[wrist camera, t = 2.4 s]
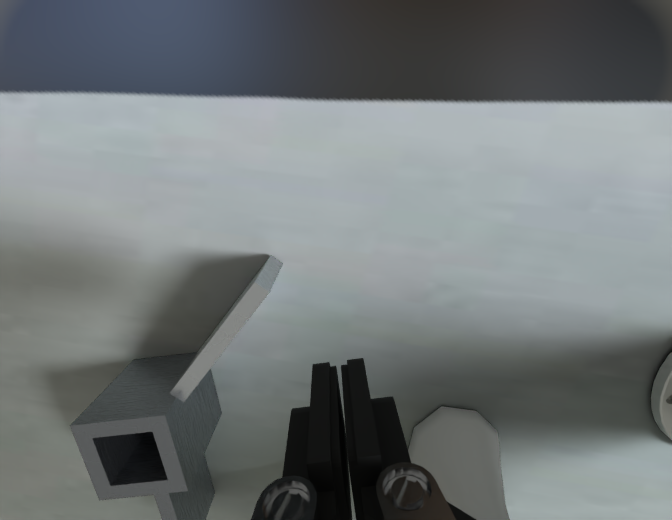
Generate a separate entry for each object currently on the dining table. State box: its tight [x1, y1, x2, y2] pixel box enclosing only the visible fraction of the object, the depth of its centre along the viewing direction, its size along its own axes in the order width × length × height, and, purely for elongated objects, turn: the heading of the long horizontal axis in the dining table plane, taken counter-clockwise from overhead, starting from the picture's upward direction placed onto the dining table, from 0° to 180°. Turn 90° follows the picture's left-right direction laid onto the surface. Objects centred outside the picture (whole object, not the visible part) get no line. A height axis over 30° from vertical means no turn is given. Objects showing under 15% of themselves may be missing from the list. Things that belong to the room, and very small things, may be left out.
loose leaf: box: [170, 255, 283, 402], centre depth 23 cm, size 1×9×6 cm, turn 142°
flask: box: [408, 406, 510, 520], centre depth 25 cm, size 7×7×10 cm
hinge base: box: [70, 352, 221, 520], centre depth 26 cm, size 6×14×7 cm, turn 7°
